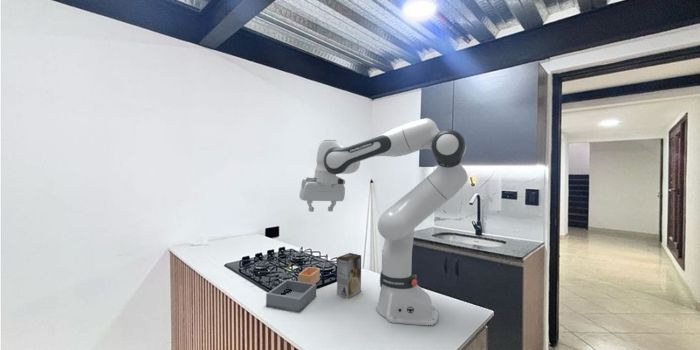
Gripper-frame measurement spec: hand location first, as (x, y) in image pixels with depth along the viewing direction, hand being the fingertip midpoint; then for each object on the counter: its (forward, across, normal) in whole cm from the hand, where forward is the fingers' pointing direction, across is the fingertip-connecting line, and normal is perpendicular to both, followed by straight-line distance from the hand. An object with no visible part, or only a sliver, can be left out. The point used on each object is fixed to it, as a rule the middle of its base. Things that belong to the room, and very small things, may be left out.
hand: (320, 211), depth 119 cm
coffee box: (+34, +13, -10) cm, 37 cm away
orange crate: (+36, +4, +8) cm, 37 cm away
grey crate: (+36, -10, -2) cm, 37 cm away
